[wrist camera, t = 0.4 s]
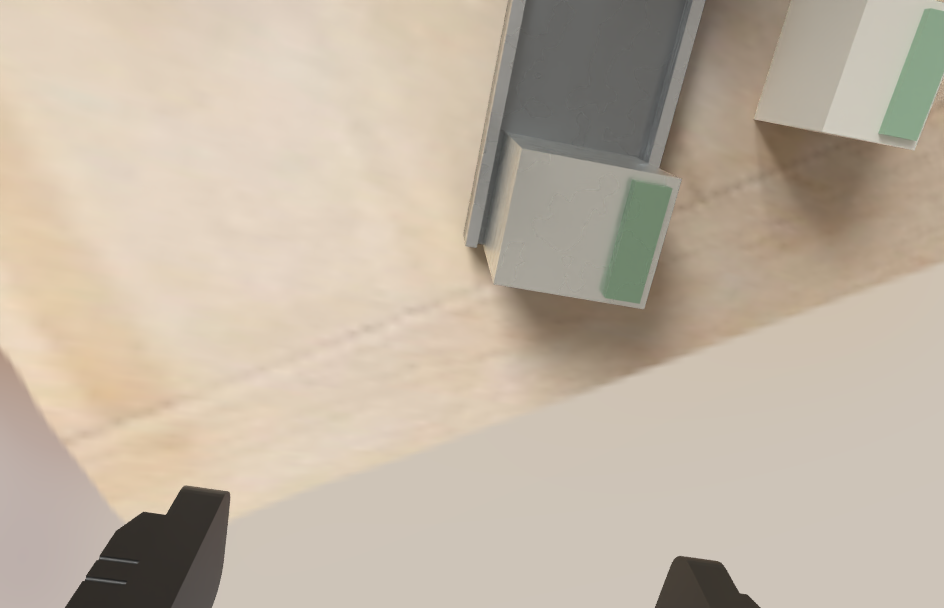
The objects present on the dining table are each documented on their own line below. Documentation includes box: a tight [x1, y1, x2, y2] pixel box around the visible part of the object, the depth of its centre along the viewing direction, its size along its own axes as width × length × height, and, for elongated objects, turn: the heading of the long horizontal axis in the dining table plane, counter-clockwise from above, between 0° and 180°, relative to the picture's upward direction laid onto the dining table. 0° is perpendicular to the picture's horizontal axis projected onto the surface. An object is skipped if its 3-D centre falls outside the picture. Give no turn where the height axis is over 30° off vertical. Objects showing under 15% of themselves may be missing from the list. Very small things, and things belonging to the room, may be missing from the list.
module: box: [754, 0, 944, 150], centre depth 33 cm, size 6×4×7 cm
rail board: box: [464, 0, 706, 309], centre depth 31 cm, size 24×9×9 cm, turn 169°
